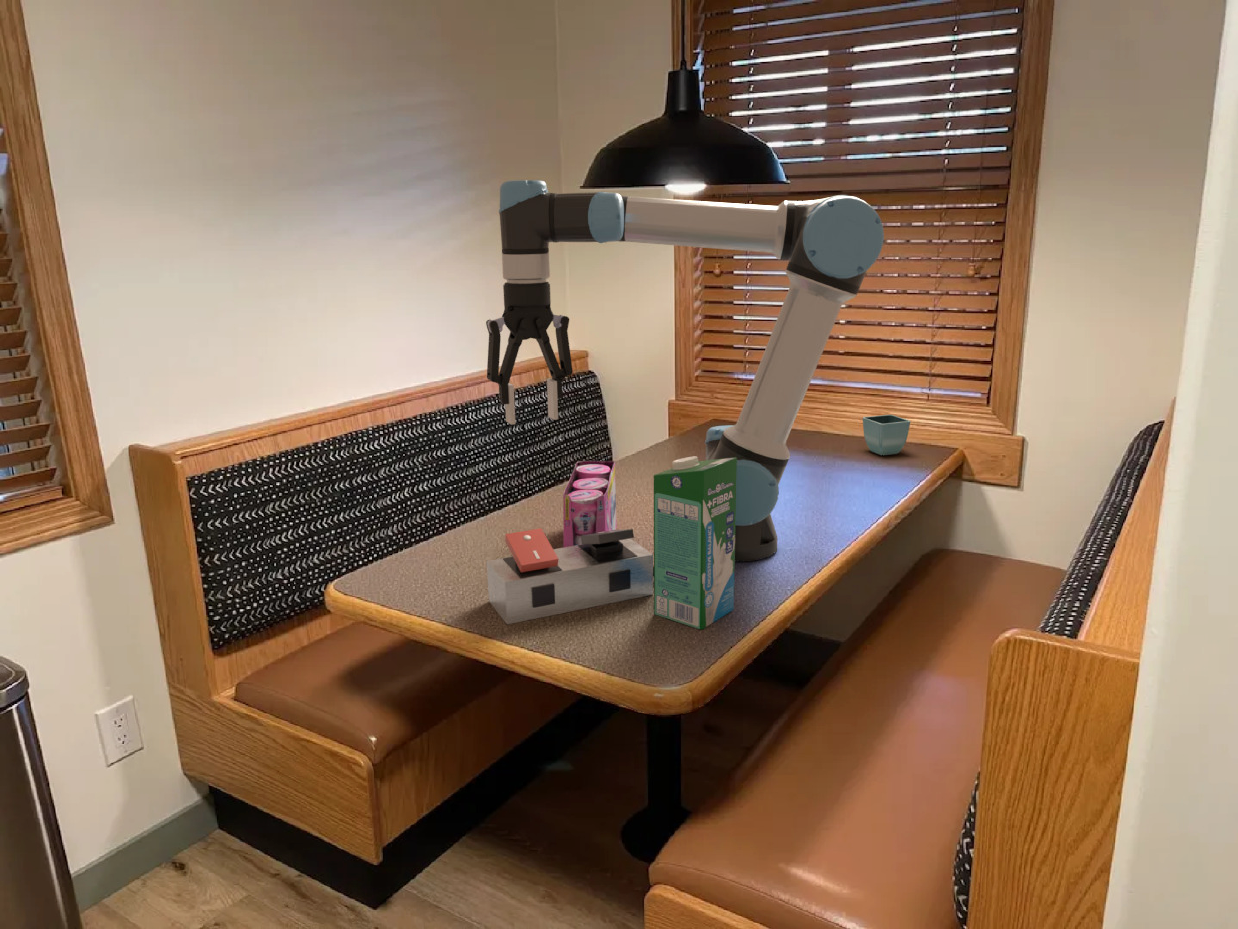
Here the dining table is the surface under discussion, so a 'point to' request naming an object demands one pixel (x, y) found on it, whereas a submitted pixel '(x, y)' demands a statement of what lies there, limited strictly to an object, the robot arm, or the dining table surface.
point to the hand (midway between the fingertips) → (532, 420)
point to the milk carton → (695, 540)
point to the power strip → (571, 580)
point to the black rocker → (607, 536)
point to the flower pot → (885, 433)
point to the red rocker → (531, 550)
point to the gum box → (589, 501)
